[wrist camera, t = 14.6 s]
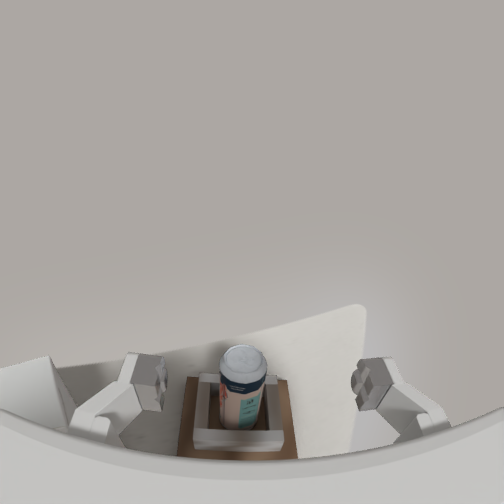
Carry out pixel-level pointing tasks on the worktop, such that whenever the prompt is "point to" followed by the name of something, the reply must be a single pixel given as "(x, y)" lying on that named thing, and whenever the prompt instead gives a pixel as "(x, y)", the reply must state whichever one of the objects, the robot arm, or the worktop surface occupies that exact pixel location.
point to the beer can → (241, 386)
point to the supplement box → (37, 393)
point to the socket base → (235, 441)
